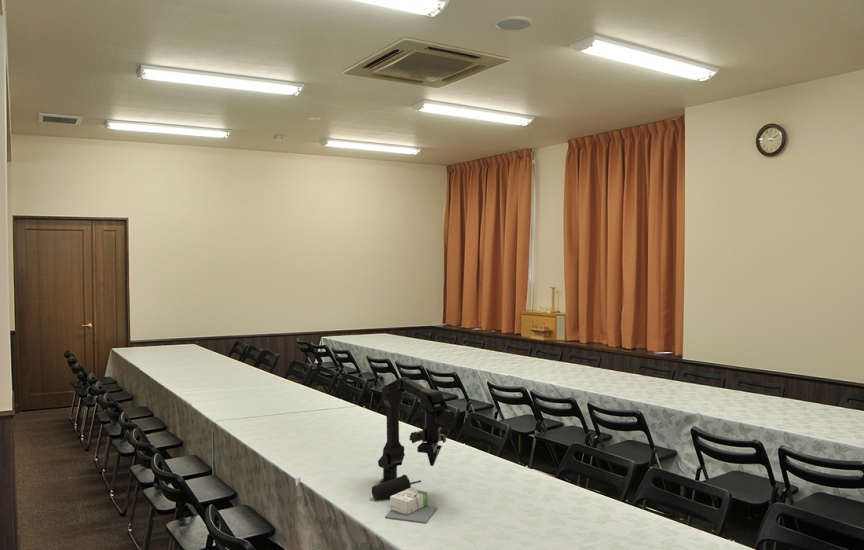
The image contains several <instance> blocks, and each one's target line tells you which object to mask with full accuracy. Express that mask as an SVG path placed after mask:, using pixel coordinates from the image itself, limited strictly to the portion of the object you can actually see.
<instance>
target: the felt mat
mask: <svg viewBox="0 0 864 550" xmlns="http://www.w3.org/2000/svg"><path fill="white" fill-rule="evenodd" d="M437 510H438V507H436V506H435V507H434V506H430V505H429V506H428V505H426V506H424V507H422V508H420V509H418V510H416V511H414V512H412V513H410V514H408V515H407V514H403V513H400V512H397V511H393V510H391V509H390V511H389V512H388V513H386V515H385V516H384V518H385V519H388V520H389V519H391V520H396V521H404V522H412V523H413V522H414V523H418V524H419V523H421V524H427V523H428V522H429V520H430V519H431V518H432V517H433V515H435V513H436V511H437Z"/></svg>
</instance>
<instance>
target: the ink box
mask: <svg viewBox="0 0 864 550" xmlns="http://www.w3.org/2000/svg"><path fill="white" fill-rule="evenodd" d="M428 497H429V496H428V492H427V491H425V490H424V491H423V490H419V489H415V488H412V487H411V488H409V489H406V490H404V491H402V492H399V493H397V494H395V495H392V496H390V497H389V510H390V511H391V510H393V511H397V512H400V513H403V514H407V515H408V514H410V513H412V512H414V511H416V510H418V509H420V508H422V507H424V506H428Z"/></svg>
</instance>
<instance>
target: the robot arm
mask: <svg viewBox="0 0 864 550" xmlns="http://www.w3.org/2000/svg"><path fill="white" fill-rule="evenodd" d="M405 392H407V393H408V394H410V395H412V396H414V397H416V398H417V399H418V400H419V403H420V404H421V405H422V406H424V407H422V409H421V412H424V427H423V428H422V429H421V430H418V431H414V432H411V433H410V435H409V439H408V440H409V441H411V443H412V444H416V443H417V442H420V441H421V443H420V444H419V445H418V446H417V452H418V453H421V454H426V455H427V458H428V462H429V466H430V467H433V466H434V465H435V464H436V461H437V458H438V456H439V454H440V452H441V449H442V448H443V445H440V444H439V442H442V443H443V444H444V443H446V442H447V435H445V433H441V431H442V429H445V430H449V431H451V430H453V429H454V428H455V427H456V425H457V418H456V416H455V414H453V410H449V407H448V404H447V402H446V401H445V398H444V395H443V393H442V392H441V391H440V390H437V389H433V388H431V389H430V388H426V387H425V386H423V385H421V384H419V383H417V382H415V381H413V379H410V378H409V377H407V376H404V377H403V376H402V377H398V378H397V379H395V380H393V381H392V382H390V383H388V384H386V385H383V387H382V388H381V398H382V401H383V403H384V406H386V408H385V409H386V443H385V445H384V446H383V449H382V456H380V458H379V459H378V460H377V463H378V465H377V466H378V467H379V468H381V469H382V478H381V480H380V481H379V482H380V483H384V482H387V481H389V480H392V479H395V478H398V467H399V466H402V465H403V461H404V460H405V459H404V458H405V456H406V455H405V446H404V445H402V443H401V442H400V417H399V416H400V415H399V414H400V413H399V412H400V410H399V407H400V404H401V402H402V400H403V395H404V393H405Z"/></svg>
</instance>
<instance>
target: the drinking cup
mask: <svg viewBox="0 0 864 550" xmlns="http://www.w3.org/2000/svg"><path fill="white" fill-rule="evenodd" d="M421 482H422V480H417V481H412V482H411V481H410V479H409V477H408V475H406V474H402V475H401V476H397V478H395V479H392V480H389V481H387V482H380V483H378V484H376V485H373V486H372V487H371V494H372V498H373V499H374V500H380V499H381V500H382V499H386V498H390V496H392V495H395V494H397V493H399V492H402V491H404V490H406V489H409V488H412V485H414V484H419V483H421Z"/></svg>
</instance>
